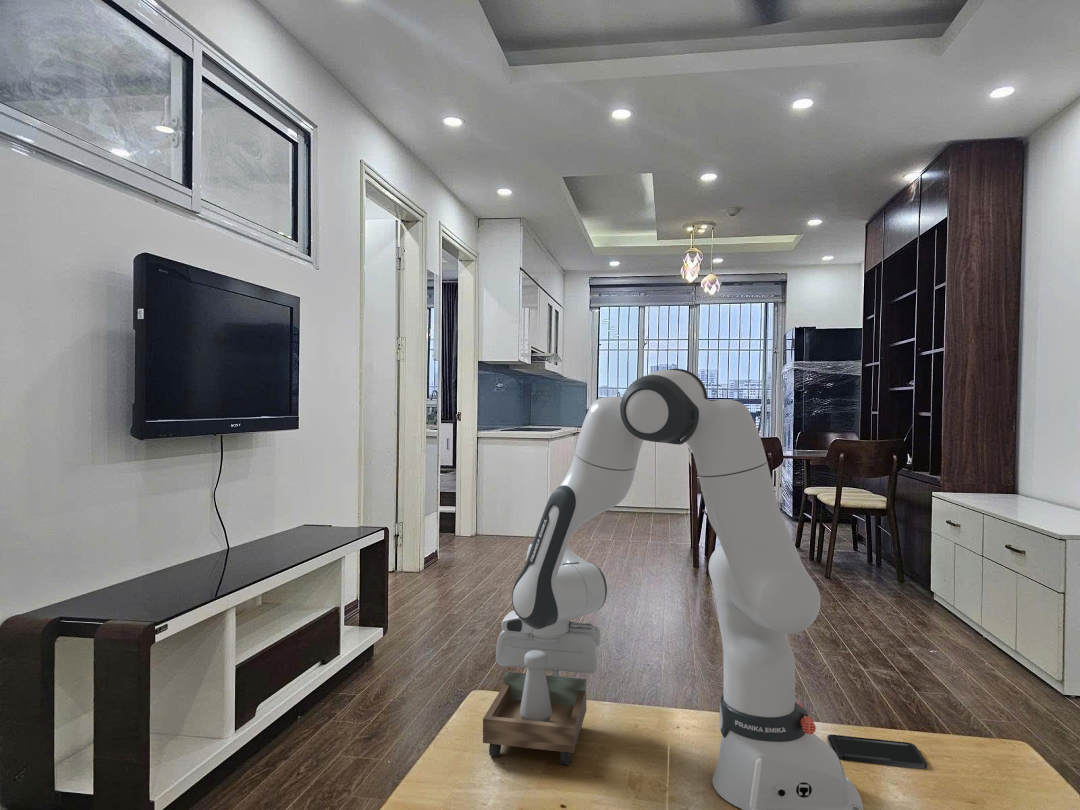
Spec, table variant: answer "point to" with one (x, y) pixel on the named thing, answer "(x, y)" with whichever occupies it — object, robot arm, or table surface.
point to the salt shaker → (536, 688)
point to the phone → (877, 751)
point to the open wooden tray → (553, 735)
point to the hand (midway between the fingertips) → (547, 690)
